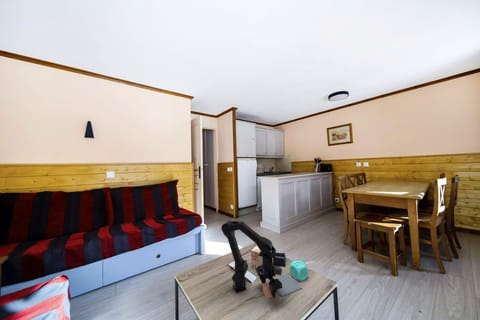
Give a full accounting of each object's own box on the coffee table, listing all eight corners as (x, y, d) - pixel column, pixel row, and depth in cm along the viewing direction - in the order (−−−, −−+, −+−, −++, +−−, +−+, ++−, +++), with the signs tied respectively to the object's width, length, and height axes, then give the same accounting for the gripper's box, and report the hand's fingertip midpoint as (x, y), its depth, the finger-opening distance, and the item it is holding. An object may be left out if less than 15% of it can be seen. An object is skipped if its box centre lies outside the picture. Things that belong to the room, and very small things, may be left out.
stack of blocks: (265, 254, 141) (264, 238, 141) (272, 256, 138) (271, 240, 138) (251, 267, 123) (250, 250, 124) (259, 270, 120) (258, 252, 120)
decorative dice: (308, 278, 109) (307, 265, 109) (299, 282, 106) (298, 269, 106) (299, 271, 116) (298, 259, 117) (289, 275, 113) (289, 262, 113)
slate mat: (281, 297, 95) (281, 295, 95) (268, 281, 108) (268, 280, 108) (301, 288, 100) (301, 287, 100) (286, 274, 113) (286, 274, 113)
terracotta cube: (267, 298, 94) (267, 289, 94) (262, 292, 99) (262, 283, 99) (275, 295, 96) (274, 286, 96) (270, 289, 101) (270, 281, 101)
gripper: (289, 268, 93) (291, 298, 92) (270, 252, 110) (271, 278, 109) (272, 274, 88) (273, 306, 88) (254, 257, 105) (256, 283, 105)
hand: (268, 292), depth 98 cm, fingers open, 9 cm apart
